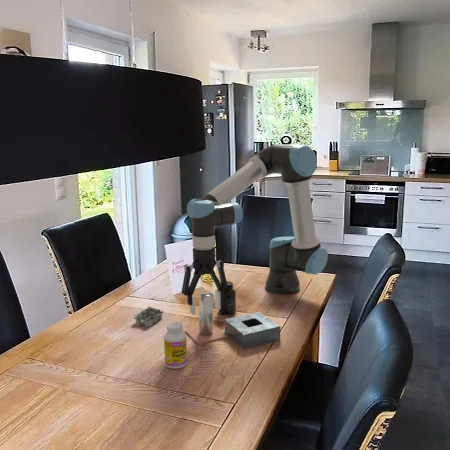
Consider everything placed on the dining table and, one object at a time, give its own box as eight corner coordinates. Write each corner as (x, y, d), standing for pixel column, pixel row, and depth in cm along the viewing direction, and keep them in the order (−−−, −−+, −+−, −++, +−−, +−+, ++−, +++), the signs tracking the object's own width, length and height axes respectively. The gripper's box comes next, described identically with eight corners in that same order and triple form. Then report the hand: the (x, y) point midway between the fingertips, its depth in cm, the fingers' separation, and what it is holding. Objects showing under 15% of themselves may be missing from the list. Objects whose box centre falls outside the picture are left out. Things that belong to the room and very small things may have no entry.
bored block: (259, 324, 170) (259, 311, 169) (280, 340, 158) (280, 326, 157) (224, 332, 164) (224, 319, 163) (243, 349, 152) (243, 334, 151)
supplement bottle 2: (236, 309, 185) (236, 280, 183) (235, 316, 179) (235, 286, 176) (219, 308, 186) (218, 280, 184) (217, 315, 179) (216, 285, 177)
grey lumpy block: (149, 328, 169) (148, 318, 169) (132, 325, 173) (131, 314, 172) (165, 317, 179) (165, 307, 178) (149, 314, 182) (149, 304, 181)
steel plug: (209, 329, 166) (210, 290, 163) (215, 334, 162) (215, 295, 159) (196, 331, 164) (197, 292, 161) (202, 336, 160) (202, 297, 157)
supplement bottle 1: (170, 372, 139) (169, 331, 136) (161, 362, 144) (159, 323, 141) (190, 365, 142) (189, 326, 139) (181, 357, 148) (179, 318, 145)
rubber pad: (213, 325, 170) (213, 324, 170) (227, 337, 160) (227, 336, 160) (185, 332, 165) (185, 330, 165) (197, 344, 156) (197, 342, 156)
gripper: (227, 241, 164) (228, 301, 169) (169, 248, 155) (172, 312, 160) (237, 245, 158) (238, 308, 162) (177, 254, 148) (180, 320, 153)
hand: (205, 310), depth 161 cm, fingers open, 9 cm apart
